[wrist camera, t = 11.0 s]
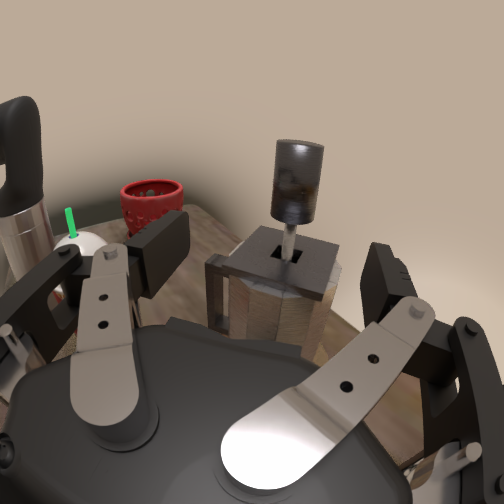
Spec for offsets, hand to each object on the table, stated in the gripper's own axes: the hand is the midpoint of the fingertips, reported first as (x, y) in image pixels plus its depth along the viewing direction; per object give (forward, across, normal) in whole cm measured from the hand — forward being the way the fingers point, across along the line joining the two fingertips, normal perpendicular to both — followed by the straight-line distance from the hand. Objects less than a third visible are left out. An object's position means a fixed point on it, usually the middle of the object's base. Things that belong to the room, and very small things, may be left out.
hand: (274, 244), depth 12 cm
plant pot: (+35, +30, +23) cm, 51 cm away
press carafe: (+11, 0, +22) cm, 25 cm away
